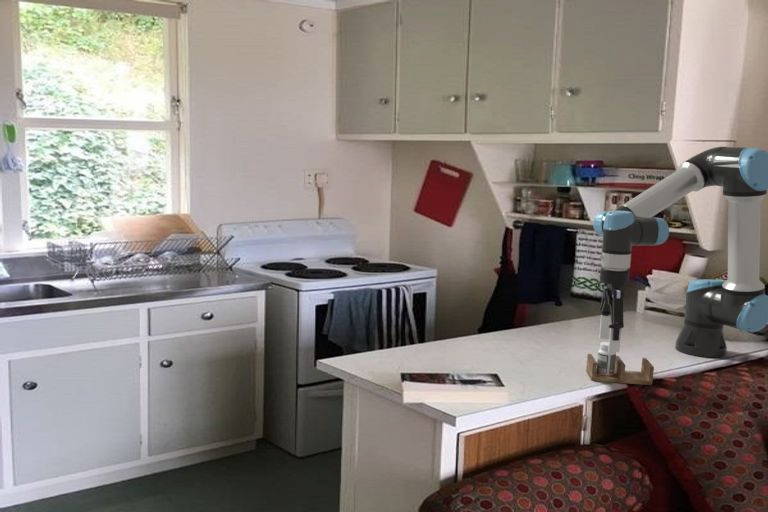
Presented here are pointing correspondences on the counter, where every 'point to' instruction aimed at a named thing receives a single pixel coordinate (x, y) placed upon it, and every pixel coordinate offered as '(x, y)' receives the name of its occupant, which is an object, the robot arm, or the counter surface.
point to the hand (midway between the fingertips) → (608, 345)
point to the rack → (621, 372)
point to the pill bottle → (606, 360)
